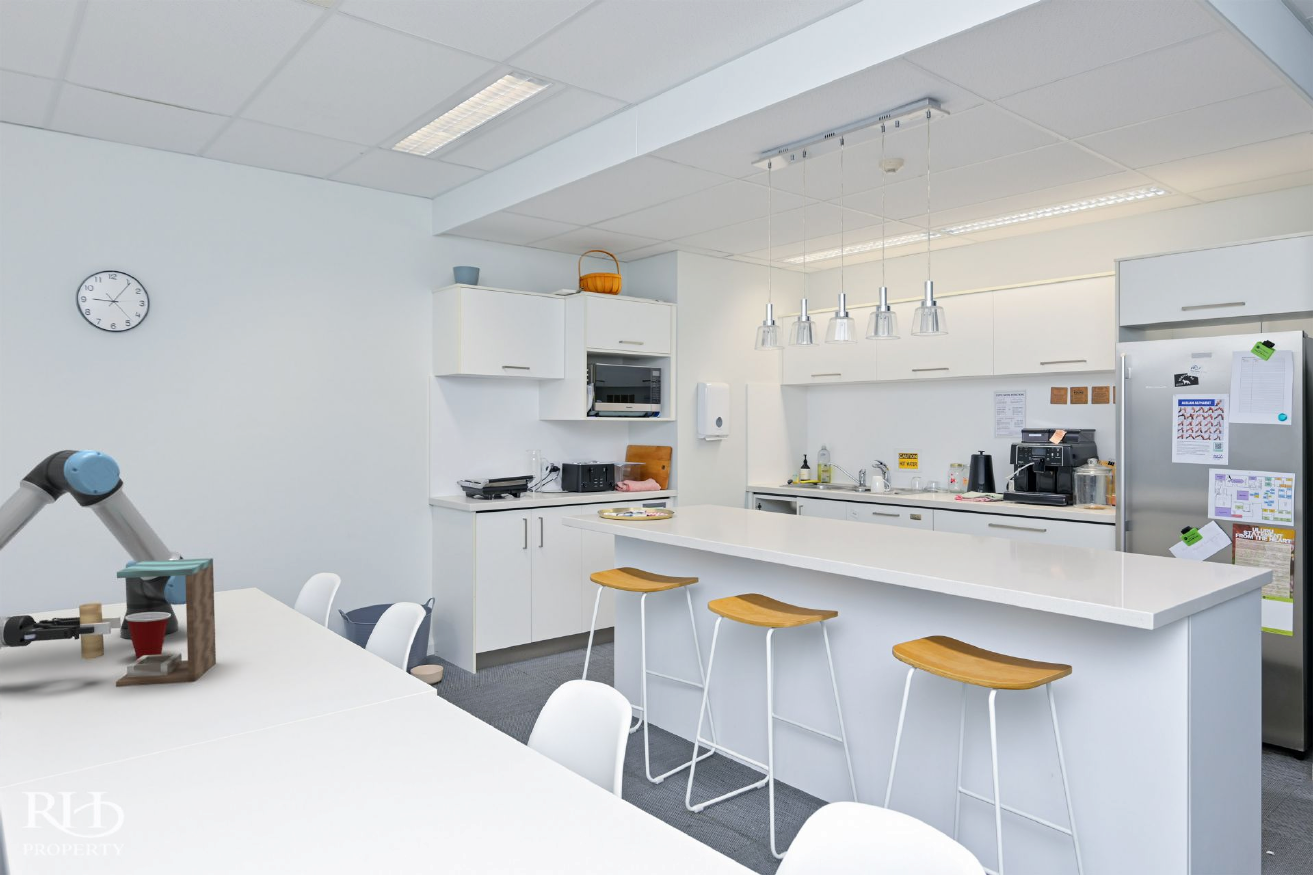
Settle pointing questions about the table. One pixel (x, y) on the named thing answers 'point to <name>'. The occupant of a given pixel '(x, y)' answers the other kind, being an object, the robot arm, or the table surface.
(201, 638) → the awning stand
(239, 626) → the table surface
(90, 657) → the peg
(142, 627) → the plastic cup
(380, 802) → the table surface
